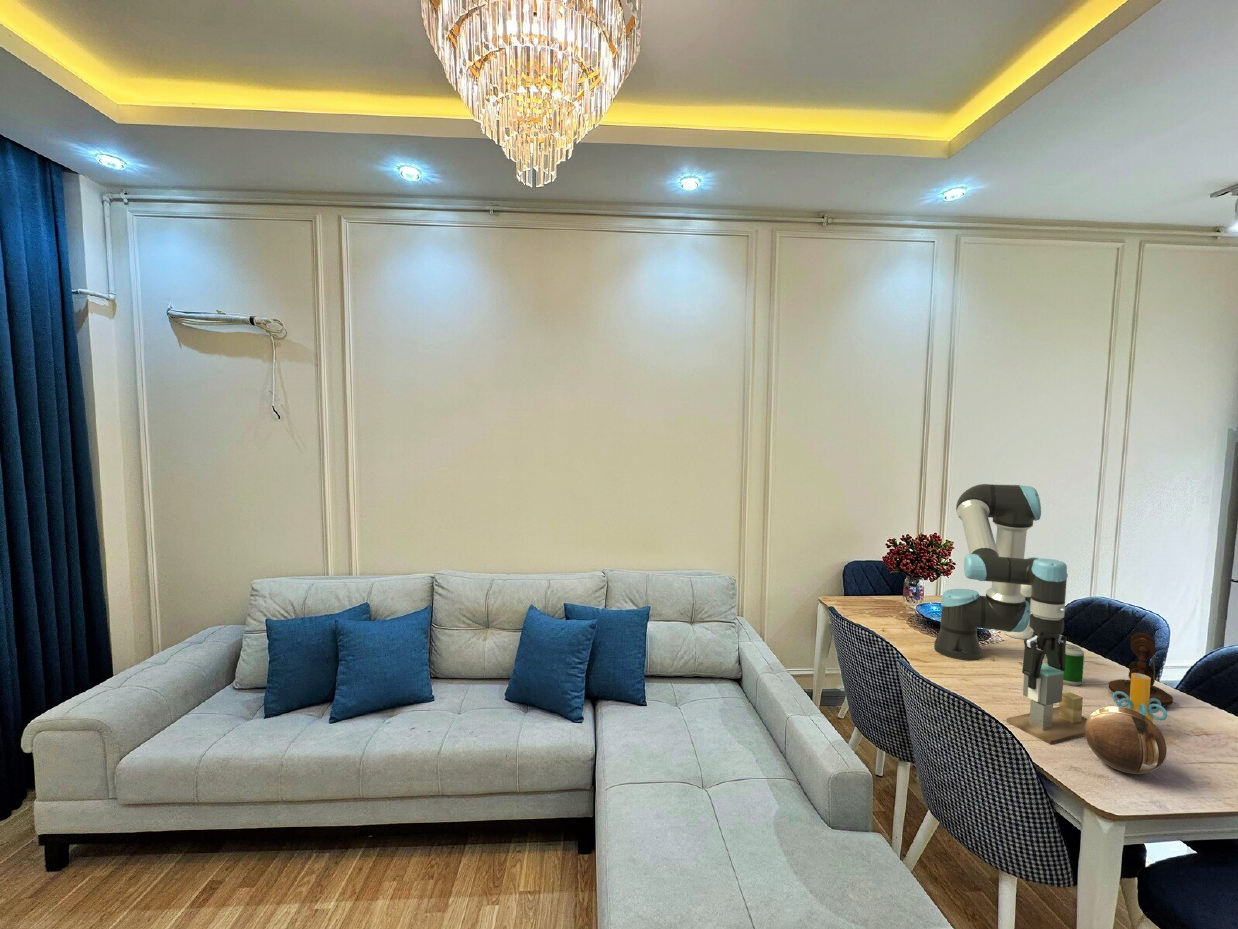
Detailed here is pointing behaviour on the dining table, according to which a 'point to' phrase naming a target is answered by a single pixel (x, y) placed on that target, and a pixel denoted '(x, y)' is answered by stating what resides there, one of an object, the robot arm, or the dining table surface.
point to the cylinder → (1140, 697)
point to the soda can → (1073, 665)
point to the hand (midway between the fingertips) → (1042, 697)
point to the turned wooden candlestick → (1142, 670)
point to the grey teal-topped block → (1048, 685)
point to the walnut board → (1057, 721)
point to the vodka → (1027, 632)
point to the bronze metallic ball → (1125, 740)
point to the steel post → (1041, 715)
